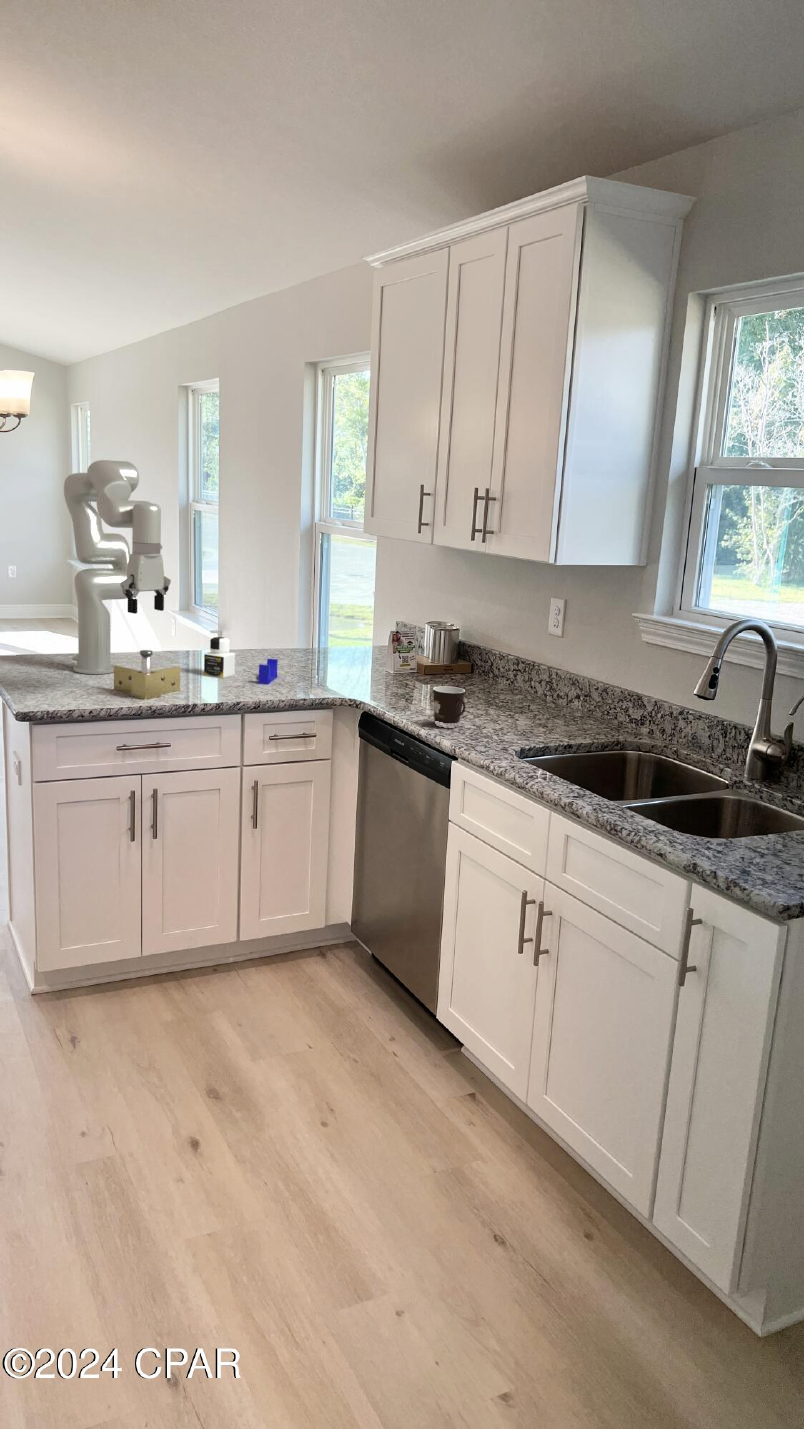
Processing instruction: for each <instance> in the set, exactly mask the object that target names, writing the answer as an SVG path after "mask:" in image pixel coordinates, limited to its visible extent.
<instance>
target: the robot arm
mask: <svg viewBox="0 0 804 1429" xmlns="http://www.w3.org/2000/svg"><path fill="white" fill-rule="evenodd" d="M139 483H140V475H139V471H138V469H137V466H136V465H134V463H132V462H130V461H126V460H125V461H123V460H110V459H106V460H105V459H101V460H96V461H93V462H92V463H91V464H89V465H88V467H87V472H76V473H71V474H69V475H68V476H67V477H66V478H65V479H64V483H63V495H64V496H63V497H64V500H65V504H66V507H67V508H68V509H67V510H68V512H69V514H70V517H71V519H72V521H71V522H72V527H73V529H72V530H73V538H74V546H75V554H76V558H77V560H78V562H80V563H82V564H83V565H84V564H85V565H111V566H112V568H105V567H104V568H101V567H100V568H99V567H98V568H94V567H93V568H86V569H85V568H83V569H81V570H79V571H78V572H77V573H76V574H75V577H74V588H75V595H76V603H77V613H78V614H77V623H78V624H77V625H78V626H77V628H78V630H77V631H78V632H77V634H78V636H77V637H78V638H77V639H78V640H77V641H78V645H77V646H78V647H77V648H78V653H77V654H76V655H74V656H72V660H73V661H76V664H75V665H74V666H73V672H75V673H79V674H83V675H84V674H86V675H103V674H112V673H114V665H113V664H111V614H110V610H109V609H108V607H106V605H105V604H104V602H103V601H107V600H109V601H110V600H111V601H112V600H126V599H127V613H128V614H129V613H130V614H135V615H136V614H138V599H137V596H138V594H139V593H140V592H152V591H154V593H155V594H154V597H153V599H154V600H153V603H154V606H153V609H154V610H156V611H161V612H162V611H164V610H165V597H166V596H167V592H168V591H169V589H170V588H169V587H170V584H171V582H172V580H171V579H170V578H168V577H167V576H165V569H164V560H163V555H162V554H161V551H162V549H163V545H162V544H161V540H162V537H161V536H162V532H161V531H162V524H161V523H162V509H161V507H160V505H159V504H156V503H152V502H151V501H146V500H134V499H133V500H130V497H131V495H132V494H133V492H134V491H136V489H137V487H138V485H139ZM89 502H91V503H92V502H94V503H96V508H95V507H94V506H93V505H92V504H91V503H89ZM102 521H103V522H104V523H105V524H106V525H107V526H109V527H111V528H115V529H116V528H121V529H122V528H123V529H131V530H132V533H131V534H132V536H131V537H132V538H131V540H132V542H131V547H132V548H131V550H132V551H130V545H129V542H128V540H127V538H126V537H125V536H124V535H122V534H120V533H114V532H113V533H112V532H110V533H109V532H107V533H106V532H104V530H103V522H102Z"/></svg>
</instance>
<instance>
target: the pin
mask: <svg viewBox="0 0 804 1429" xmlns="http://www.w3.org/2000/svg"><path fill="white" fill-rule="evenodd" d="M153 654H154V653H153V650H150V649H142V650H141V649H140V651H139V656H141V657H140V658H141V660H140V661H141V662H140V663H141V670H140V671H141V673H142V674H151V671H152V656H153Z"/></svg>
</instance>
